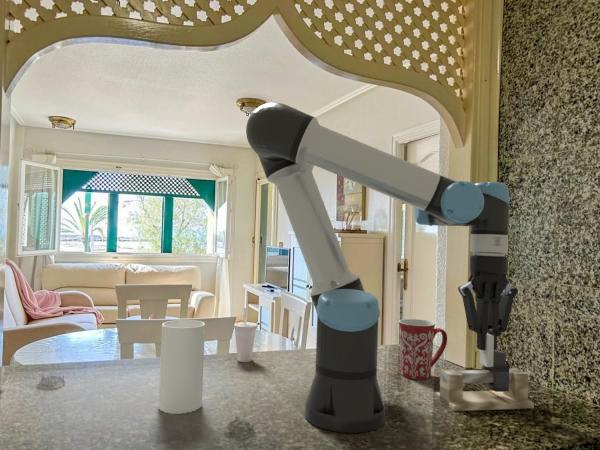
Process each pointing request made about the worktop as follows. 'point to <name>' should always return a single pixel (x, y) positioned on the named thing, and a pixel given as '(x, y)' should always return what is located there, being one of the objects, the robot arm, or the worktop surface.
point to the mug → (418, 347)
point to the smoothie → (245, 339)
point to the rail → (482, 400)
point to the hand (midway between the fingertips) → (486, 364)
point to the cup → (181, 366)
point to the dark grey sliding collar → (499, 372)
